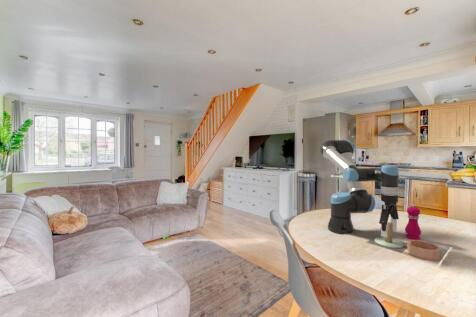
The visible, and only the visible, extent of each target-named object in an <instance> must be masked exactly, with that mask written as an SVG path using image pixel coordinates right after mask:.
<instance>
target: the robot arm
mask: <svg viewBox="0 0 476 317" xmlns="http://www.w3.org/2000/svg"><path fill="white" fill-rule="evenodd" d="M319 150H320V154H321V155H322V157H323V158H325V159H327V160H329V161H330V162H331V163H332V164H333V165H335V167H336V168H338V169H339V170H340V171H341V172H342V173H343V174H342V175H343V179H344V180H345V182H346V186H347V190H348V192H340V191H339V192H336V193H335V192H334V193H332V195H331V197H330V218H329V221H328V223H327V229H328V230H329V231H331V232H332V233H335V234H339V235H346V234H352V233H354V231H355V228H354V225H353V224H354V223H353V222H352V214H367V213H372V212H373V211H374V209H375V206H376V199H375V197H374V196H373V195H372V194H370V193H368V189H366V188H364V187H363V184H362V182H380V183H381V184H380V185H381V186H380V193H381V195H380V201H381V202H383V203H384V204H382V205H381V212H380V218H379V222H378V223H379V225H380V229H381V230H380V231H381V232H380V236H383V237H388V225H387V222H389V219H390V223H393V232H397V231H398V230H397V229H398V228H397V226H398V221H397V220H399V218H400V217H399V211H398V206H397V203H398V202H399V192H400V189H399V174H400V172H399V167H398V166H397V165H389V164H388V165H382V166H381V168H379V167H367V168H363V167H362V168H361V167H357V166H356V165H355V162H354V160H353V156H354V153H355V145H354V143H353V141H351V140H350V139H329V140H325V141H324V142H323V143H322V144H321V145H320V149H319Z"/></svg>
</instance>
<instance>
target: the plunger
mask: <svg viewBox="0 0 476 317" xmlns="http://www.w3.org/2000/svg"><path fill="white" fill-rule="evenodd" d="M387 225H388V237H377V238H375V239H374V241H375V243H377V244H379V245H381V246H384V247H388V248H394V249H399V248H403V246H404V245H403V243H402V242H403V241H402V242H400V241H401V240H398V239H395V238H393V232H394V231H393V223H391V221H390V222H389V221H388V222H387Z"/></svg>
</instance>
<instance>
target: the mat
mask: <svg viewBox="0 0 476 317" xmlns="http://www.w3.org/2000/svg"><path fill="white" fill-rule="evenodd" d="M377 237H383V236H381V235H378V234H377V235H376V236H374V237H372V238H371V239H370V240H367V241H366V244H370V245H373V246H377V247H380V248H384V249H386V250H390V251H394V252H396V253H398V254H400V253H401V254H402V253H403V252H404V251H405V250H406V249H407V242H404V241H401V240H399V241H400V242H402V243H403V245H404V246H403V248H399V249H394V248H388V247H384V246H381V245H379V244H377V243H375V241H374V239H375V238H377Z"/></svg>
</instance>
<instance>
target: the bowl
mask: <svg viewBox="0 0 476 317" xmlns="http://www.w3.org/2000/svg"><path fill="white" fill-rule="evenodd" d="M406 243H407V248H406V249H407V252H408V254H410V255H412V256H413V257H416V258H418V259H419V258H420V259H423V260H427V261H438V260H440V259H441V257H442V256H441V255H442V254H441V253H442V248H441V246H439V245H437V244H435V243H432V242H429V241H425V240H421V239H420V240H412V239H409V240H407V241H406Z"/></svg>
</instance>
